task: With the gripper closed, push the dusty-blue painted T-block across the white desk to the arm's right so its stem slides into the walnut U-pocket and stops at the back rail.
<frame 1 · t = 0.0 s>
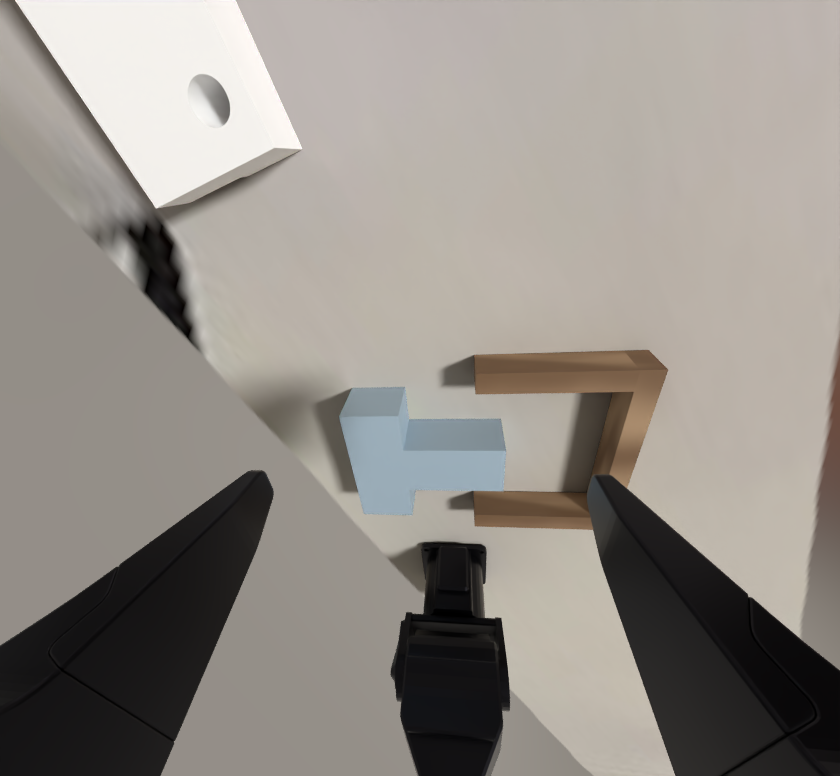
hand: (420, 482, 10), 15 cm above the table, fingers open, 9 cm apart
t block: (387, 438, 29), on the table
bracket: (170, 23, 16), on the table
pocket: (539, 439, 27), on the table
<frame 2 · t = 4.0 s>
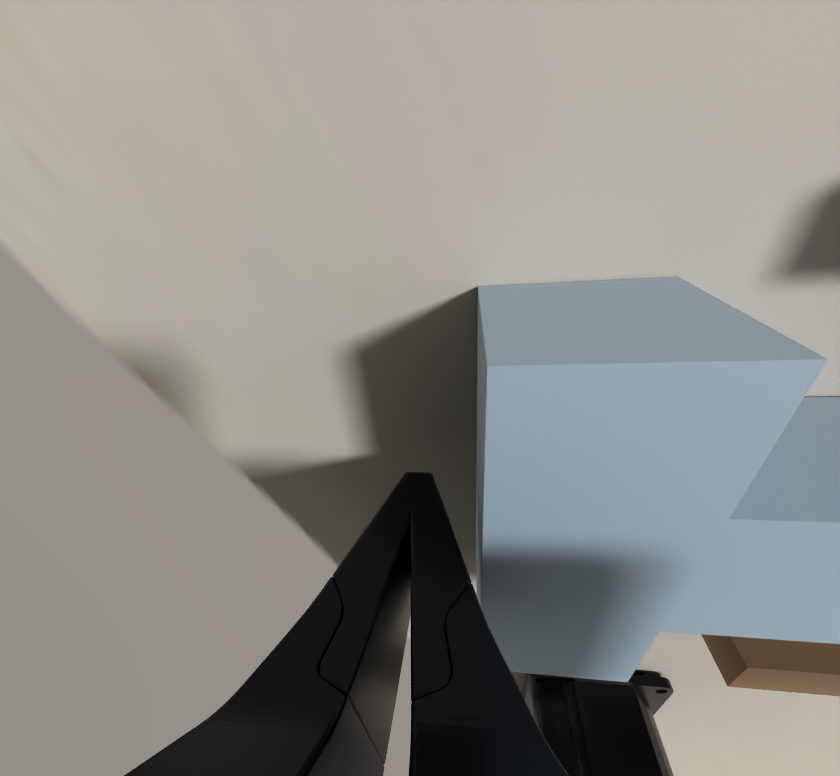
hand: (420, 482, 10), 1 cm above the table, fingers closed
t block: (547, 456, 10), on the table, touching gripper
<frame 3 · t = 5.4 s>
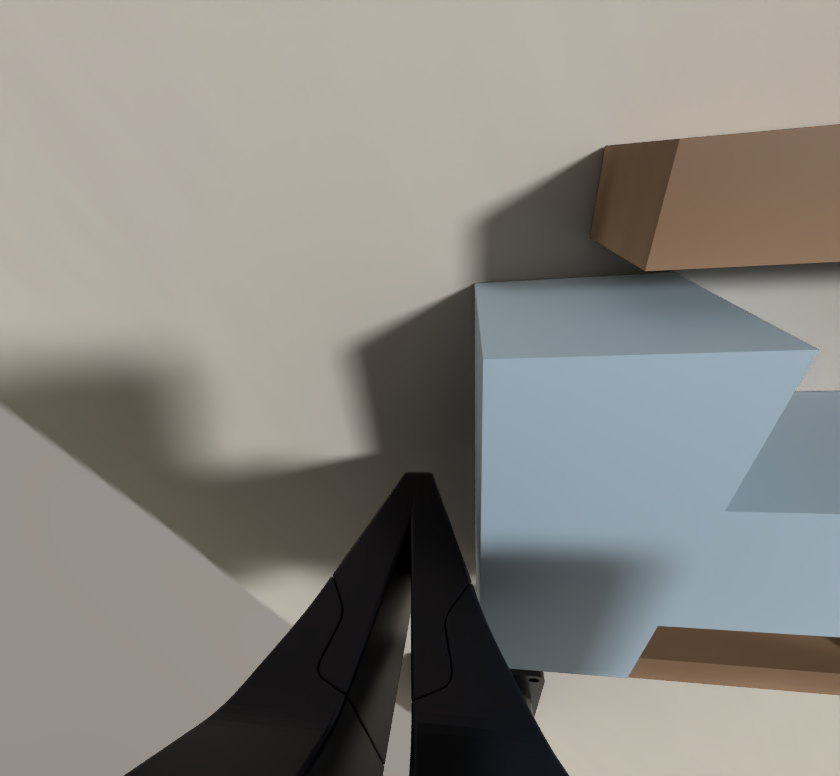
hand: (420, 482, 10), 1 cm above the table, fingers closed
t block: (545, 453, 10), on the table, touching gripper
pocket: (742, 461, 10), on the table
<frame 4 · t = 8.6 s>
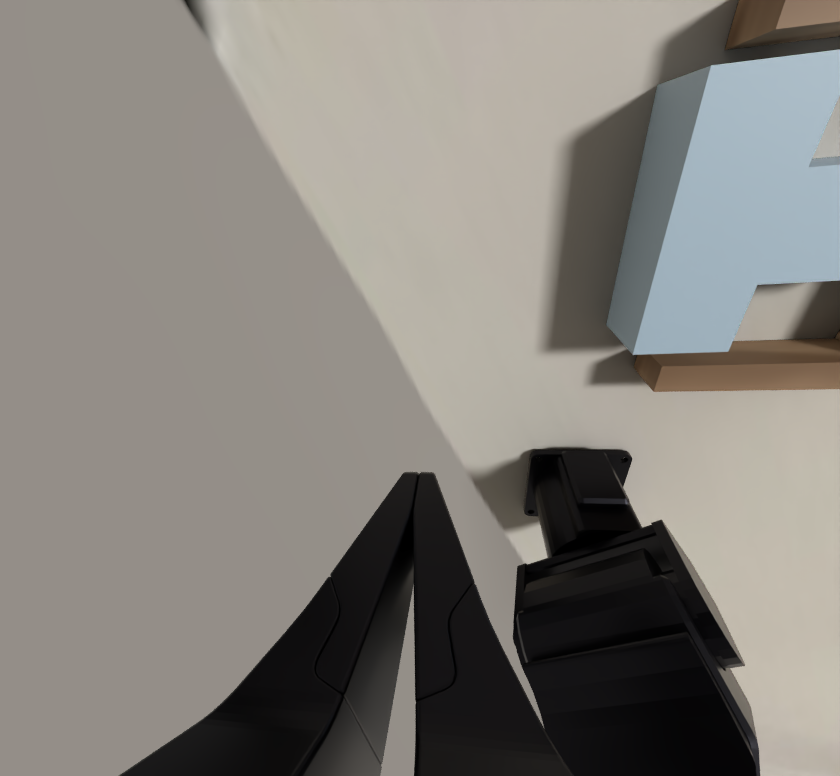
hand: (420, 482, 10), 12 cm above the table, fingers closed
t block: (673, 221, 16), on the table
pocket: (795, 218, 16), on the table
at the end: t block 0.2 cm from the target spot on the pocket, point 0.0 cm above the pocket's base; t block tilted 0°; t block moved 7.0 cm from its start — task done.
